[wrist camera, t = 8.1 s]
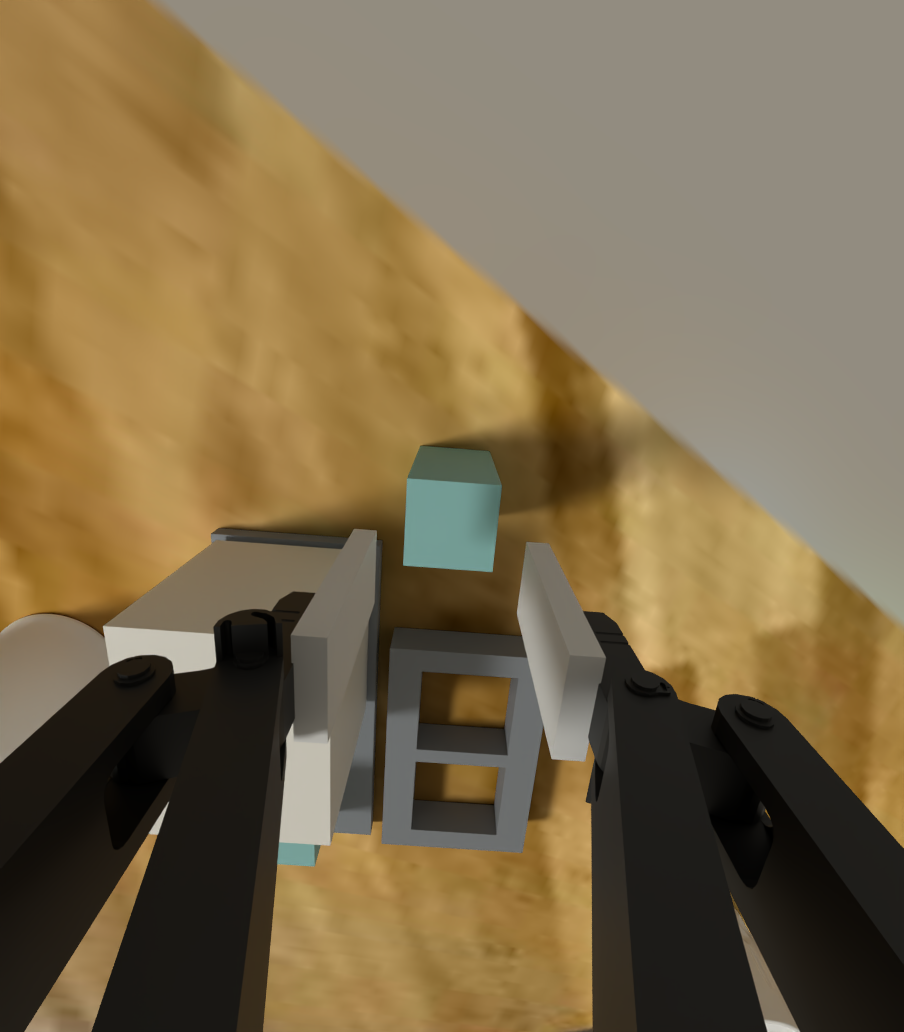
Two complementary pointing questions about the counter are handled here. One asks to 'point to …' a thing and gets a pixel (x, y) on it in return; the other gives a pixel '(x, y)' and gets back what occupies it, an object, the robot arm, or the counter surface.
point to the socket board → (459, 743)
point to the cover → (191, 647)
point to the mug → (43, 671)
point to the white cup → (766, 987)
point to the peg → (452, 509)
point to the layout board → (361, 775)
